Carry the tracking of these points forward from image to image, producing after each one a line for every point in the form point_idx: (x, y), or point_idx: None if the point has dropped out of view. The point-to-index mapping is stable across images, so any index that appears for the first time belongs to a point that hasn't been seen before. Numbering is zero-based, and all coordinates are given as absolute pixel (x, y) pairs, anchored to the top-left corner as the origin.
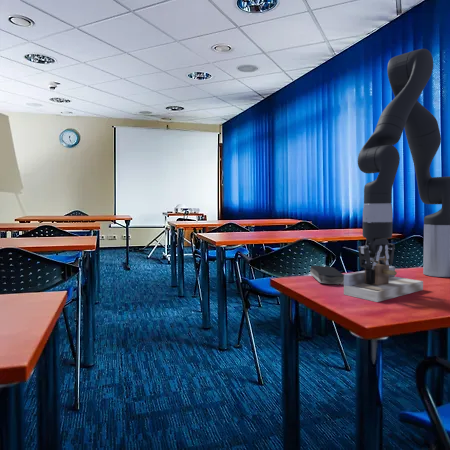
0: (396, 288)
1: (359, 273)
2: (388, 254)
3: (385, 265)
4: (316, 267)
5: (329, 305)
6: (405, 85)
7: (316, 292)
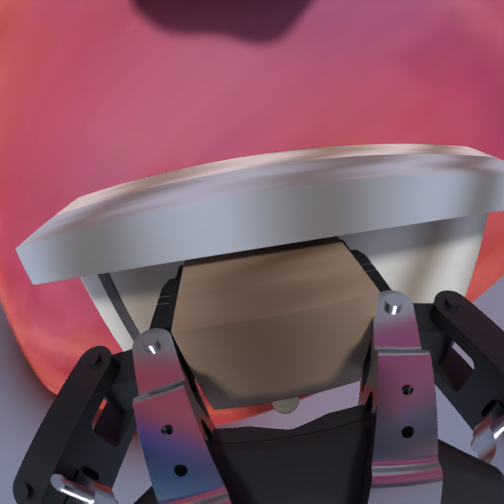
0: None
1: (126, 269)
2: (465, 393)
3: (320, 389)
4: None
5: (5, 290)
6: None
7: (9, 120)
